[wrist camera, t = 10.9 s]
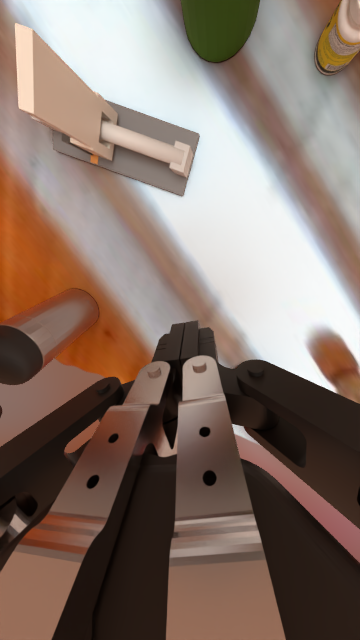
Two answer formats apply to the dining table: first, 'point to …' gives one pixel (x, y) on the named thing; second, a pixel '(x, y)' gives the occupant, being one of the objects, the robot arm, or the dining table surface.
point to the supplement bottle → (339, 38)
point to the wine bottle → (218, 26)
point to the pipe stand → (141, 149)
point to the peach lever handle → (60, 95)
